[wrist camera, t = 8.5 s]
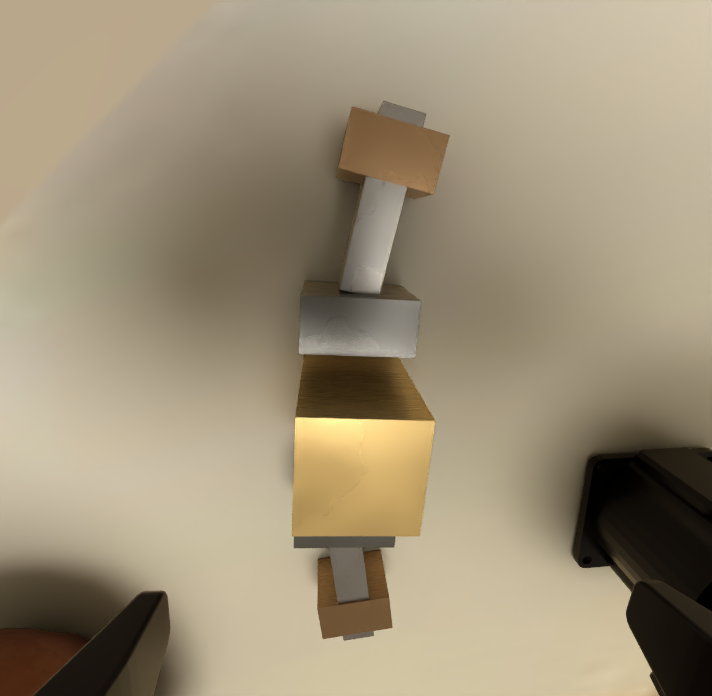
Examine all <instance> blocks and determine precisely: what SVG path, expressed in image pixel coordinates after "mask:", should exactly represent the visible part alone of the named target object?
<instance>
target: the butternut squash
mask: <svg viewBox="0 0 712 696" xmlns="http://www.w3.org/2000/svg"><path fill="white" fill-rule="evenodd" d="M87 643H88V642H87V641H86V640H84V639H83V638H82V637H80V636H79V635H77V634H75V633H73V632H71V633H59V632H52V631H46V630H39V629H31V628H4V629H0V696H32V695H33V694H34V693H35V692H36V691H38V690H39V689H40V688H41V687H42V686H43V685H44V684H45V683H46V682H47V681H48V680H49V679H50V678H51V677H52V676H53V675H54V674H55V673H56V672H57V671H58V670H60V669H61V668H62V667H63V666H64V665H65V664H66V663H67V662H68V661H69V660H70V659H71V658H72V657H73V656H74V655H75V654H76V653H77V652H78V651H79V650H81V649H82V648H83V647H84V646H85V645H86V644H87Z"/></svg>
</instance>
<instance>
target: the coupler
mask: <svg viewBox="0 0 712 696" xmlns="http://www.w3.org/2000/svg"><path fill="white" fill-rule="evenodd" d="M434 427H435V420H434V418H433V416H432V415H431V413H430V411H429V409H428V408H427V406H426V404H425V403H424V401H423V399H422V397H421V396H420V394H419V392H418V391H417V389H416V387H415V385H414V384H413V382H412V380H411V379H410V377H409V375H408V373H407V372H406V370H405V368H404V366H403V365H402V363H401V361H400V360H399V358H398V357H371V356H344V355H317V354H304V358H303V365H302V373H301V380H300V387H299V395H298V402H297V409H296V417H295V447H294V480H293V513H292V536H420V531H421V524H422V516H423V509H424V501H425V494H426V486H427V479H428V472H429V464H430V457H431V449H432V442H433V435H434Z"/></svg>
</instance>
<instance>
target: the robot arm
mask: <svg viewBox="0 0 712 696" xmlns="http://www.w3.org/2000/svg"><path fill="white" fill-rule="evenodd" d="M601 464H602V466H601V467H599V466H600V465H601ZM598 467H599V468H598ZM573 557H574V559H575V561H576V562H577V563H578V565H579V566H580V567H582V568H591V567H603V566H610V567H611V568H612V569H613V571H614V572H615V573H616V574H617V575H618V576H619V578H620V579H621V580H622V581H623V582H624V584H625V585H626V586H627V587H628V588H629V589H630V591H631V592H632V593H631V597H630V600H629V603H628V606H627V610H626V618H627V622H628V625H629V627H630V629H631V631H632V633H633V635H634V637H635V639H636V641H637V642H638V644H639V646H640V648H641V650H642V652H643V654H644V656H645V658H646V660H647V662H648V664H649V666H650V668H651V669H652V672H651V674H650V678H651V680H652V682H653V684H654V686H655V688H656V690H657V692H658V694H659V696H712V450H710V449H708V448H694V449H689V448H672V449H657V450H642V451H639V452H633V453H618V454H602V455H596V456H594V457H592V458H591V459H590V460H589V462H588V466H587V473H586V479H585V485H584V491H583V498H582V504H581V510H580V517H579V523H578V529H577V535H576V542H575V548H574V554H573ZM169 634H170V619H169V608H168V598H167V594H166V592H164V591H144V592H142V593H140V594H138V595H137V596H136V597H135V598H134V599H133V600H132V601H131V602H130V603H129V604H128V605H127V606H126V607H125V608H124V609H122V610H121V611H120V612H119V613H118V614H117V615H116V616H115V617H114V618H113V619H112V620H111V621H110V622H109V623H108V624H107V625H106V626H105V627H104V628H103V629H102V630H100V631H99V632H98V633H97V634H96V635H95V636H94V637H93V638H92V639H91V640H90V641H89V642H88V643H87V644H86V645H85V646H84V647H83V648H82V649H81V650H79V651H78V652H77V653H76V654H75V655H74V656H73V657H72V658H71V659H70V660H69V661H68V662H67V663H66V664H65V665H64V666H63V667H62V668H61V669H60V670H58V671H57V672H56V673H55V674H54V675H53V676H52V677H51V678H50V679H49V680H48V681H47V682H46V683H45V684H44V685H43V686H42V687H41V688H40V689H39V690H38V691H36V692H35V693H34V694H33V695H32V696H154V692H155V688H156V684H157V681H158V677H159V673H160V670H161V666H162V662H163V658H164V655H165V651H166V647H167V643H168V639H169Z"/></svg>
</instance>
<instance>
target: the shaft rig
mask: <svg viewBox="0 0 712 696" xmlns="http://www.w3.org/2000/svg"><path fill="white" fill-rule="evenodd" d="M425 116H426V114H425V113H422V112H419V111H415V110H412V109H409V108H406V107H402V106H399V105H396V104H392V103H389V102H386V101H383V103H382V105H381V107H380V109H379V111H378V113H377V114H376V113H372V112H369V111H366V110H362V109H359V108H355V107H352V108H351V112H350V116H349V120H348V124H347V128H346V133H345V138H344V142H343V147H342V152H341V156H340V161H339V166H338V170H337V175H336V178H339V179H342V180H346V181H350V182H353V183H357V184H361V187H360V192H359V196H358V200H357V205H356V209H355V213H354V218H353V222H352V226H351V231H350V235H349V239H348V244H347V248H346V252H345V257H344V261H343V265H342V270H341V274H340V278H339V283H337V282H319V281H305V282H304V285H303V288H302V292H301V295H300V332H299V354H317V355H344V356H371V357H398V358H415V353H416V344H417V335H418V326H419V317H420V308H421V301H420V300H419V299H418V298H416V297H415V296H414V295H412V294H411V293H410V292H409V291H407V290H406V289H405V288H403V287H402V286H393V285H382V283H383V279H384V275H385V271H386V267H387V263H388V260H389V256H390V252H391V248H392V244H393V240H394V236H395V232H396V229H397V225H398V221H399V217H400V213H401V209H402V205H403V202H404V198H405V197H409V198H413V199H417V198H421V197H424V196H428V195H432V194H434V190H435V187H436V183H437V179H438V176H439V172H440V168H441V165H442V161H443V158H444V154H445V150H446V147H447V143H448V139H449V136H450V135H446V134H443V133H440V132H436V131H433V130H430V129H426V128H423V124H424V120H425ZM394 545H395V536H294V548H329V551H330V558H324V559H318V604H317V609H318V615H319V620H320V626H321V631H322V637H323V639H326V638H332V637H338V636H343V639H344V640H351V639H357V638H363V637H369V636H374V633H373V631H376V630H382V629H388V628H392V619H391V610H390V601H389V594H388V589H387V583H386V578H385V572H384V567H383V561H382V556H381V550H377V551H370V552H363V548H379V547H394Z"/></svg>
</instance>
